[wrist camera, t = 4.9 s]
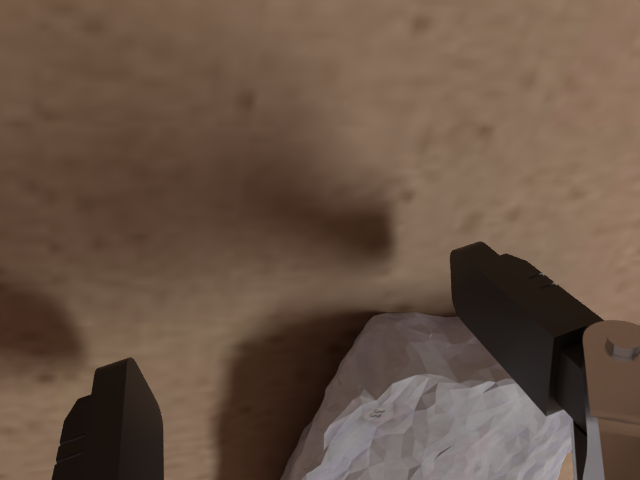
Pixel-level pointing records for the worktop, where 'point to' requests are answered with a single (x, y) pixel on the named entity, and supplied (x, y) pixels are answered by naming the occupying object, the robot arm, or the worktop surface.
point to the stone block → (427, 412)
